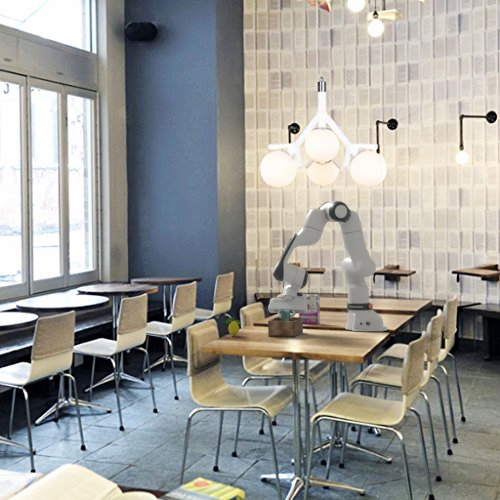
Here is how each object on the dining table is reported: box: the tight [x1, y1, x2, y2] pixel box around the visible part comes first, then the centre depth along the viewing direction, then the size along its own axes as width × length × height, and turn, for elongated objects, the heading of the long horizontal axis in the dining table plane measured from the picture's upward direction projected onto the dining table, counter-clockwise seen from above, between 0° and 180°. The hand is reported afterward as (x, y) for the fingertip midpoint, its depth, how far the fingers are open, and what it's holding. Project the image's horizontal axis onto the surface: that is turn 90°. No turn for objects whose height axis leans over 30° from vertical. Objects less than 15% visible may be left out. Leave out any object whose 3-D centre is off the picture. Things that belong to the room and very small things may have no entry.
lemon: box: [224, 317, 243, 337], centre depth 409 cm, size 7×6×10 cm
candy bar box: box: [298, 294, 321, 325], centre depth 451 cm, size 11×5×16 cm, turn 68°
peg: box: [280, 310, 291, 321], centre depth 411 cm, size 4×4×10 cm
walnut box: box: [267, 316, 304, 338], centre depth 412 cm, size 14×17×8 cm
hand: (285, 318), depth 411 cm, fingers closed on peg, 4 cm apart
